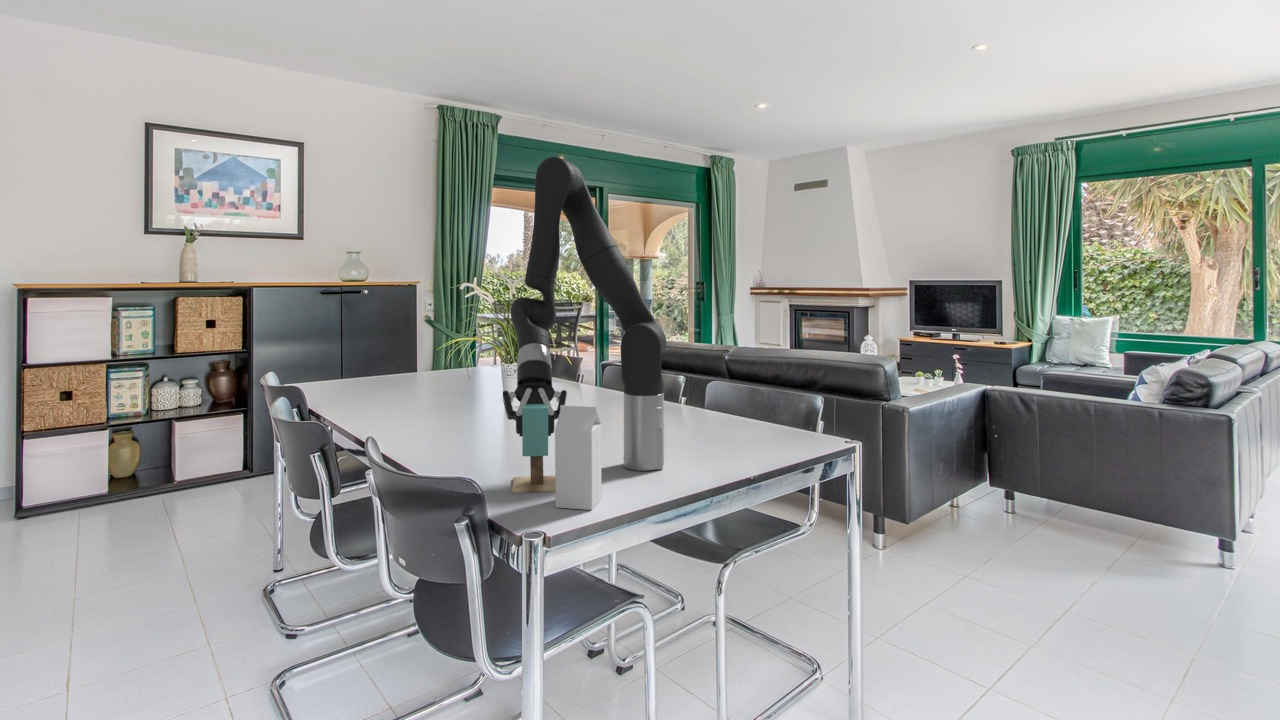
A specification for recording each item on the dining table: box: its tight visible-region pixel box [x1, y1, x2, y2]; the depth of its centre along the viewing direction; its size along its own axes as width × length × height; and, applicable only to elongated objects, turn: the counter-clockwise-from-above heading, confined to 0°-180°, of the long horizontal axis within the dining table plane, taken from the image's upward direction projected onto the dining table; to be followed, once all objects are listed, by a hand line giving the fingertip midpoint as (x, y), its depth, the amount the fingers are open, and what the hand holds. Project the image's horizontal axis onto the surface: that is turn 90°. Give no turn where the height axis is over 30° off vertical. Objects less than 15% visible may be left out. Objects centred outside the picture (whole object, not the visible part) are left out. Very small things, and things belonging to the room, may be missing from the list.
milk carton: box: [554, 405, 603, 511], centre depth 127 cm, size 7×7×19 cm
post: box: [512, 456, 556, 494], centre depth 140 cm, size 10×10×8 cm
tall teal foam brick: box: [521, 404, 549, 457], centre depth 139 cm, size 5×5×10 cm
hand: (535, 433), depth 137 cm, fingers closed on tall teal foam brick, 5 cm apart
